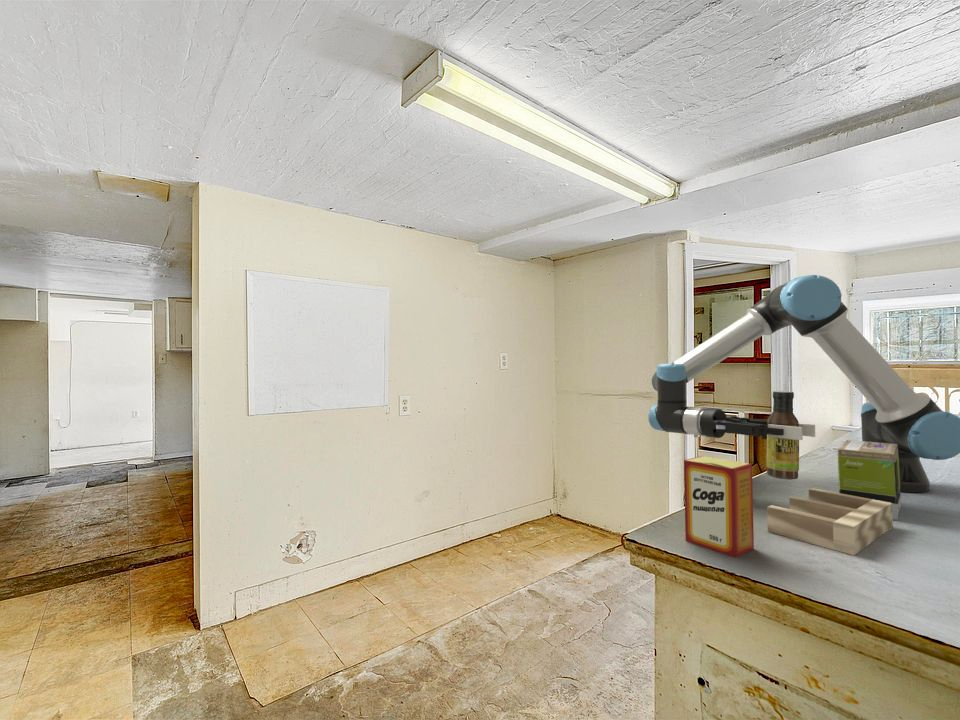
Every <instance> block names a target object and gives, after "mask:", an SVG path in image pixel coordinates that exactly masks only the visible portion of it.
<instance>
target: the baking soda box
mask: <svg viewBox="0 0 960 720" xmlns="http://www.w3.org/2000/svg"><path fill="white" fill-rule="evenodd" d="M683 473H684V475H683V476H684V477H683V480H684V481H683V482H684V483H683V484H684V522H685V523H684V524H685V525H684V526H685V527H684V530H685V535H684V537H685V541H686V542H688V543H692V544H695V545H698V546H700V547H702V548H706V549H709V550H712V551H715V552H718V553H721V554H724V555H727V556H730V557H732V558H738V557H740V556H742V555H744V554H746V553H748V552H751V551H752V550H754V549H755V543H754V542H755V540H754V537H755V536H754V535H755V533H754V532H755V531H754V505H753V504H754V497H753V496H754V495H753V490H754V489H753V488H754V487H753V464H752V463H749V462H744V461H743V462H741V461H737V460H733V459H726V458H724V459H722V458H717V457H716V458H715V457H709V456H705V455H701V456H696V457H691V458H687V459H684V460H683Z"/></svg>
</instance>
